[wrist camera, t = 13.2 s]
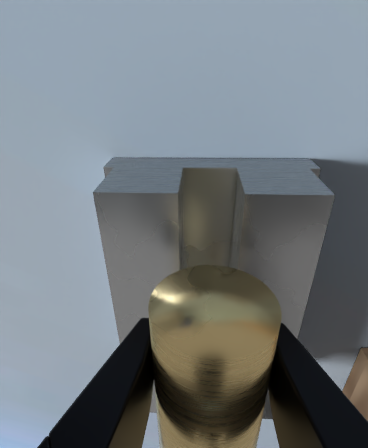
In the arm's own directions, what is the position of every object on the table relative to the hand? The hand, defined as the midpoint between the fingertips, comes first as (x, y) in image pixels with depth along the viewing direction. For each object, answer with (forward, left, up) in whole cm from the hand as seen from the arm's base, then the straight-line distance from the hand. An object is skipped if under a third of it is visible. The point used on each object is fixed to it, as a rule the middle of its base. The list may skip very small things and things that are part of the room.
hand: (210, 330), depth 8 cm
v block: (-3, 0, -6) cm, 7 cm away
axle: (-3, 0, -1) cm, 3 cm away
